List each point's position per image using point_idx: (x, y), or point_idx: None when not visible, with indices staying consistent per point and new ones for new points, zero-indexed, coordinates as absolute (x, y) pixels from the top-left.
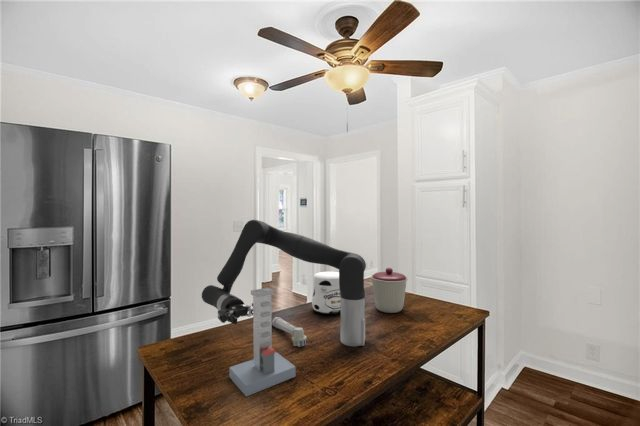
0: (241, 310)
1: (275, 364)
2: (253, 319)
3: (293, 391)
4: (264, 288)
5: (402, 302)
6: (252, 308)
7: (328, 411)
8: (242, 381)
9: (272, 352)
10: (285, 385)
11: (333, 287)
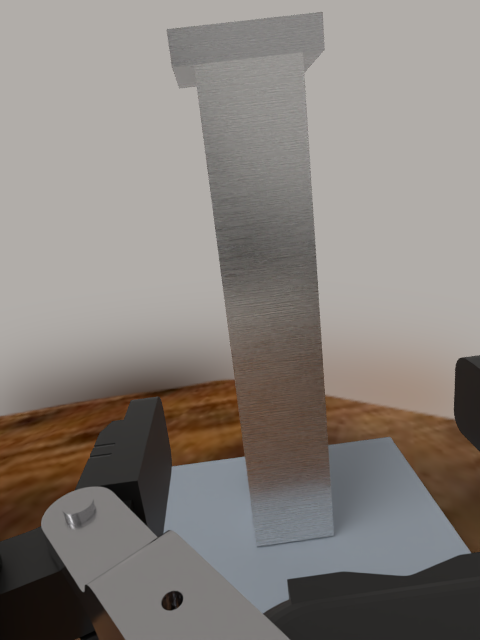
0: (397, 583)
1: (220, 511)
2: (315, 261)
3: (226, 449)
4: (202, 29)
5: None
6: (140, 527)
7: (200, 387)
8: (404, 458)
9: None
10: None
11: None
